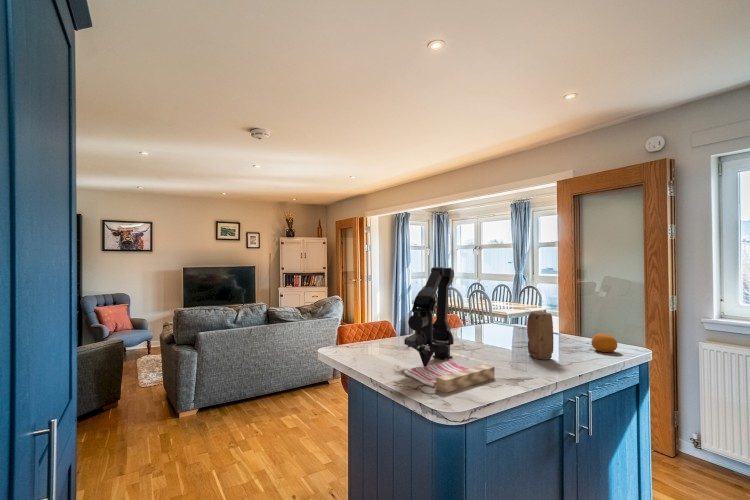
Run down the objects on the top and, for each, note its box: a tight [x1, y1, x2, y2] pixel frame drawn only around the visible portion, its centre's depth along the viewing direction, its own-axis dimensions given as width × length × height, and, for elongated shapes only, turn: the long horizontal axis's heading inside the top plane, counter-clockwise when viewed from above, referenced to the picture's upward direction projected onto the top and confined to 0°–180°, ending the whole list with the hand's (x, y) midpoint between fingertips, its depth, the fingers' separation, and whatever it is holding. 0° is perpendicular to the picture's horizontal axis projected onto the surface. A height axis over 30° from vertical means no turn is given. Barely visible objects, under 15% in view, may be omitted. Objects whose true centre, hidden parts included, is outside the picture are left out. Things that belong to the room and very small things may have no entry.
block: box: [526, 310, 554, 361], centre depth 166 cm, size 11×8×20 cm
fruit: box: [591, 333, 618, 353], centre depth 177 cm, size 10×10×8 cm
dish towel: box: [404, 360, 471, 388], centre depth 139 cm, size 17×23×4 cm
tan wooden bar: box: [435, 364, 496, 394], centre depth 130 cm, size 26×4×4 cm, turn 127°
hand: (425, 366), depth 147 cm, fingers closed
